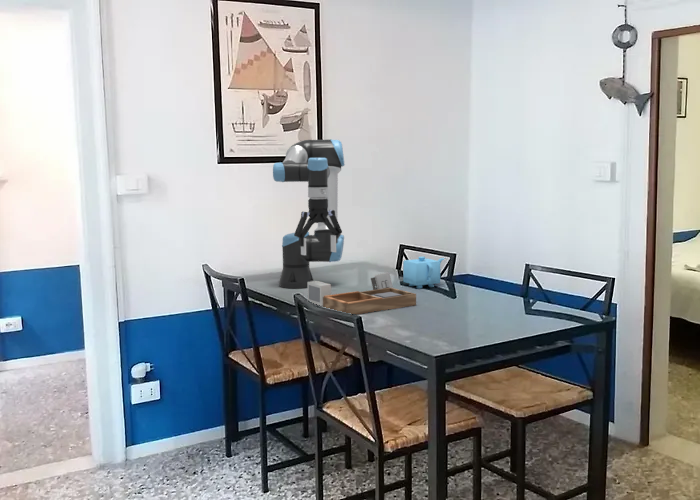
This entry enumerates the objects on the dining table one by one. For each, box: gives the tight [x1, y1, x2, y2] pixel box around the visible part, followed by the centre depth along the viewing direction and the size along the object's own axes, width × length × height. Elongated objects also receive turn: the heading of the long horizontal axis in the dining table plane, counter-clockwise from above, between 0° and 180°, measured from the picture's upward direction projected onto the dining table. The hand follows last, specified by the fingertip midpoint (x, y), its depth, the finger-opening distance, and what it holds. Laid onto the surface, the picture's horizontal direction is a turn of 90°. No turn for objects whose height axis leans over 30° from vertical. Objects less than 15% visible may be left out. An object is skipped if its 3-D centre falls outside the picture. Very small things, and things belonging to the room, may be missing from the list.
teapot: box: [402, 255, 445, 289], centre depth 331 cm, size 18×16×13 cm
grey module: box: [372, 292, 401, 298], centre depth 292 cm, size 9×10×4 cm
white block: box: [307, 280, 332, 307], centre depth 296 cm, size 10×5×8 cm, turn 34°
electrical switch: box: [370, 271, 394, 290], centre depth 311 cm, size 9×5×9 cm, turn 141°
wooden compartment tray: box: [322, 287, 417, 316], centre depth 289 cm, size 16×32×5 cm, turn 124°
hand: (318, 253), depth 294 cm, fingers open, 13 cm apart
